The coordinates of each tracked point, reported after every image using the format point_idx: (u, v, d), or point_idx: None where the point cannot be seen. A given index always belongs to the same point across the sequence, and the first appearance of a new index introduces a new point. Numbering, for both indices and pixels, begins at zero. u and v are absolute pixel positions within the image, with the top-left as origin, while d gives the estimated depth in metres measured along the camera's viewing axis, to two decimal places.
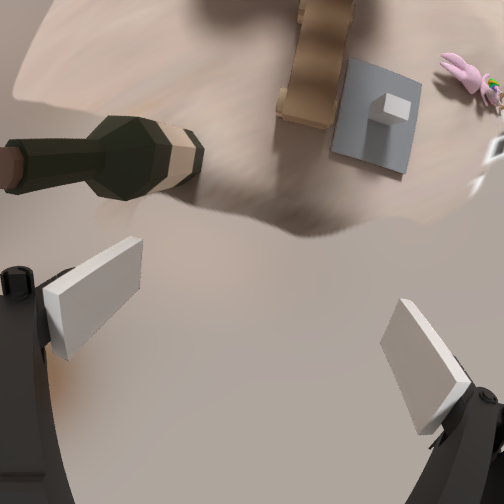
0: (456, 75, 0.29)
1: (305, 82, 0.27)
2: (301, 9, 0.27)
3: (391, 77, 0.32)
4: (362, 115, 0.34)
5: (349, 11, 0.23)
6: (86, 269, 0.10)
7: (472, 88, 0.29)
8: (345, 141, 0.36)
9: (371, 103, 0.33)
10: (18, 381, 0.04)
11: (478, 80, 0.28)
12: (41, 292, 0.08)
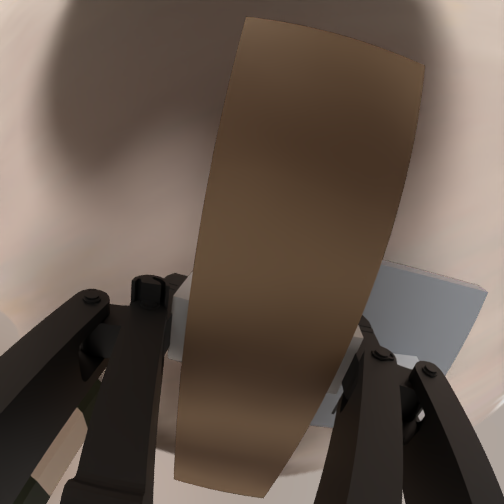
0: None
1: (210, 454, 0.11)
2: None
3: (435, 294, 0.16)
4: None
5: (383, 242, 0.07)
6: None
7: None
8: (316, 412, 0.20)
9: None
10: (135, 393, 0.05)
11: None
12: None
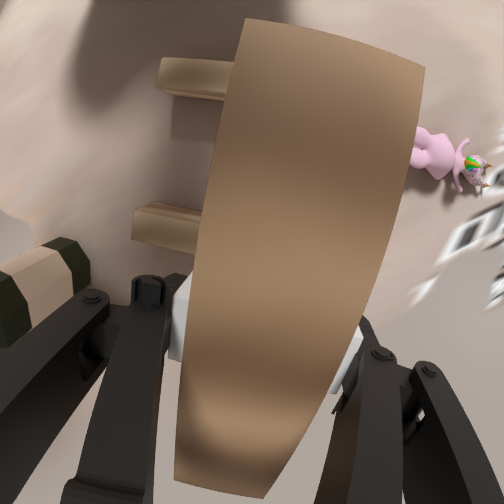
0: (412, 163, 0.25)
1: (210, 455, 0.11)
2: (159, 86, 0.23)
3: None
4: None
5: (382, 245, 0.07)
6: None
7: (438, 173, 0.25)
8: None
9: None
10: (135, 394, 0.05)
11: (448, 163, 0.24)
12: None
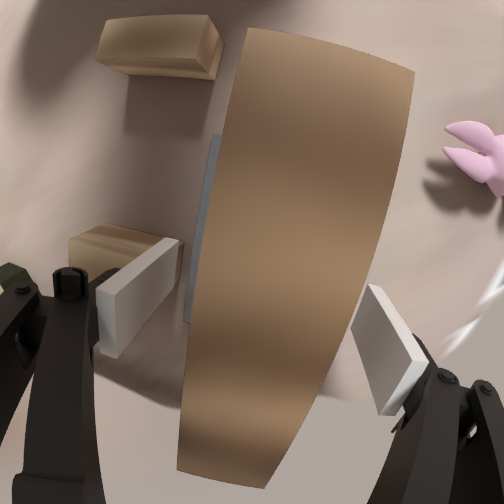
0: (475, 175, 0.15)
1: (212, 443, 0.12)
2: (99, 59, 0.14)
3: None
4: None
5: (375, 236, 0.08)
6: (134, 269, 0.11)
7: (501, 190, 0.16)
8: None
9: None
10: (65, 383, 0.05)
11: None
12: (89, 292, 0.09)
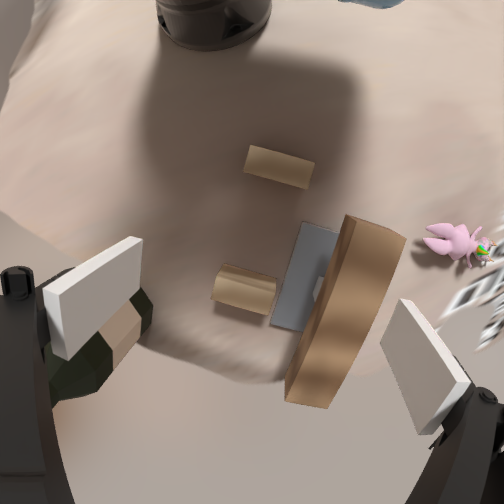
0: (439, 252, 0.32)
1: (312, 378, 0.28)
2: (246, 172, 0.31)
3: None
4: (307, 290, 0.37)
5: (384, 292, 0.25)
6: (86, 269, 0.10)
7: (456, 257, 0.33)
8: (285, 316, 0.39)
9: (318, 279, 0.36)
10: (18, 381, 0.04)
11: (465, 250, 0.31)
12: (41, 292, 0.08)
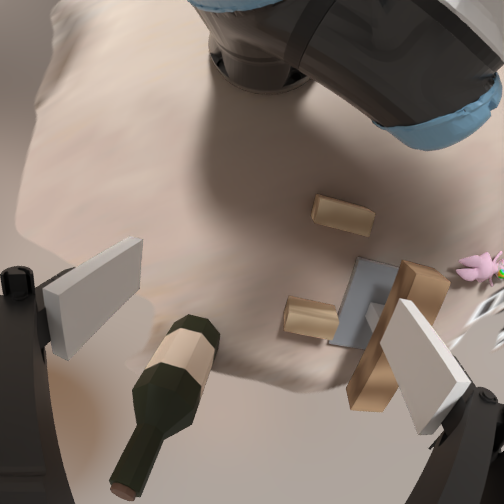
0: (468, 280, 0.36)
1: (373, 390, 0.33)
2: None
3: (395, 275, 0.39)
4: (360, 314, 0.42)
5: (432, 323, 0.29)
6: (86, 269, 0.10)
7: (481, 280, 0.37)
8: (341, 336, 0.43)
9: (370, 305, 0.40)
10: (18, 381, 0.04)
11: (488, 276, 0.35)
12: (41, 292, 0.08)
